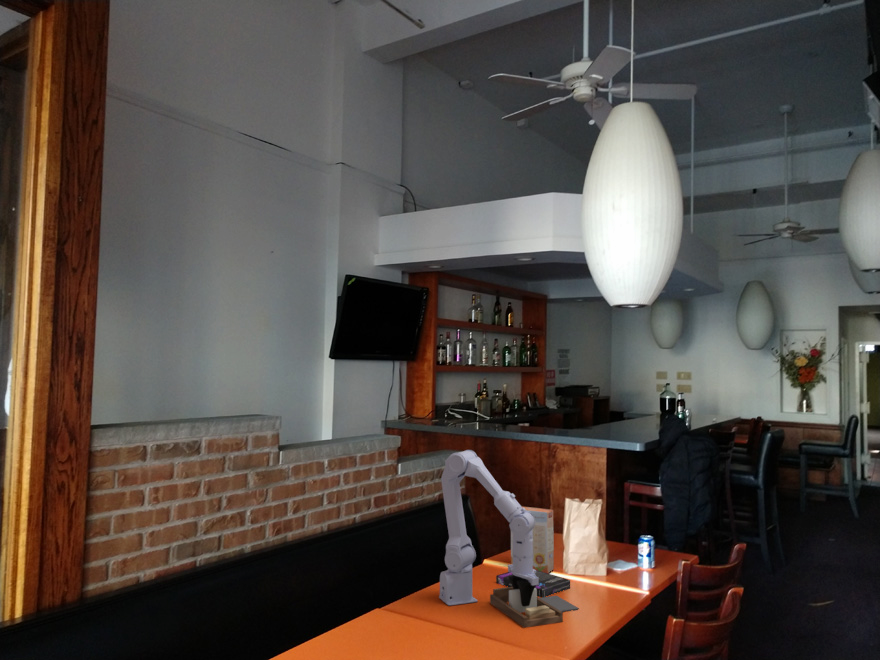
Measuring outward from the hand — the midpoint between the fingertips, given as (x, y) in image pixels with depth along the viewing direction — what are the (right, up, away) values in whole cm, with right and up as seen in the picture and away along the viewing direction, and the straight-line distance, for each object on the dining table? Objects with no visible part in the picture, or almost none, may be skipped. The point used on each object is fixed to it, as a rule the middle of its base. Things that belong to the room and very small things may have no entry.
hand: (522, 603), depth 192 cm
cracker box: (+8, -5, +41) cm, 42 cm away
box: (+6, -4, +23) cm, 24 cm away
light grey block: (0, -2, 0) cm, 2 cm away
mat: (+10, -2, +5) cm, 11 cm away
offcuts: (+3, -1, -9) cm, 9 cm away
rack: (0, -2, -1) cm, 2 cm away
